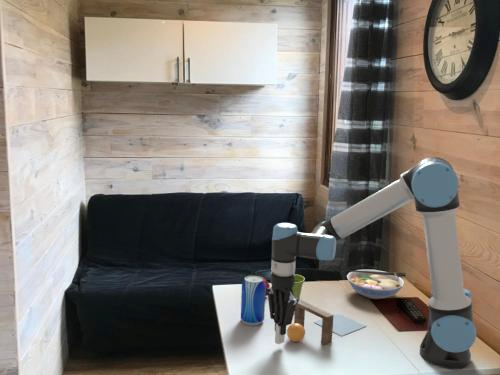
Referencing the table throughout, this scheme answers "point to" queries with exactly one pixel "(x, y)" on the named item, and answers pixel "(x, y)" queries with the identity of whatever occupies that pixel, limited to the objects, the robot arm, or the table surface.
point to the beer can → (253, 300)
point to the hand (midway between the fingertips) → (279, 342)
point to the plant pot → (298, 286)
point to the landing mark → (343, 325)
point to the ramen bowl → (375, 283)
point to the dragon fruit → (266, 285)
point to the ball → (296, 332)
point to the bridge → (326, 317)
